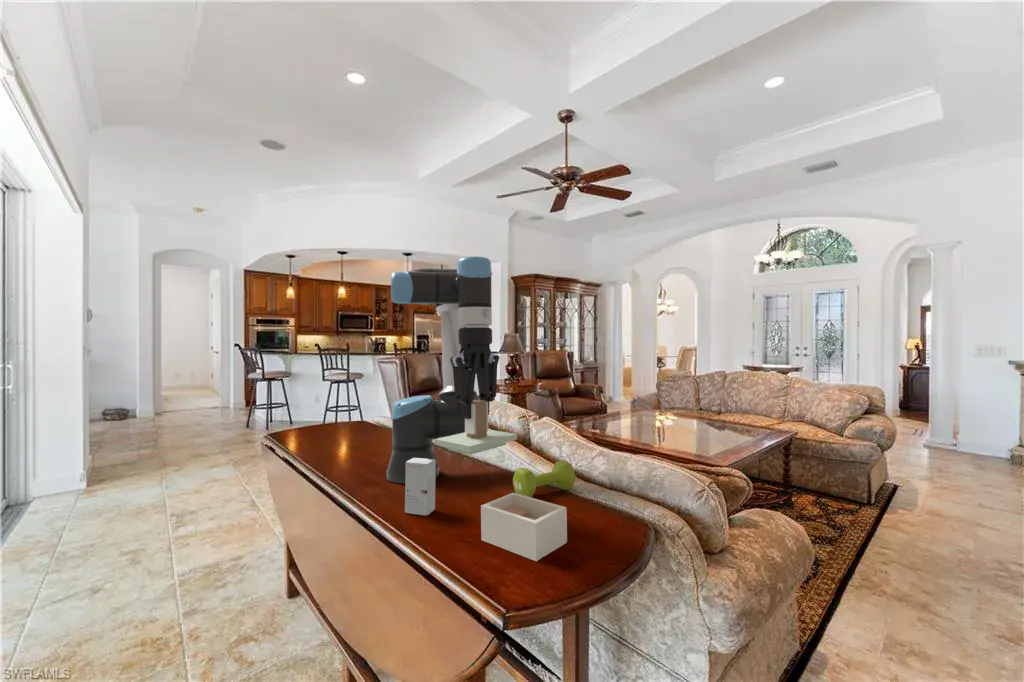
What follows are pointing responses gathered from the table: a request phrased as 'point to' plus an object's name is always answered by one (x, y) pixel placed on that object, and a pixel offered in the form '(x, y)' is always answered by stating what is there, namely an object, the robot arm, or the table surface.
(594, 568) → the table surface
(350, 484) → the table surface
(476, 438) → the lid
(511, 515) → the box
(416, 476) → the skincare box
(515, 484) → the dumbbell
